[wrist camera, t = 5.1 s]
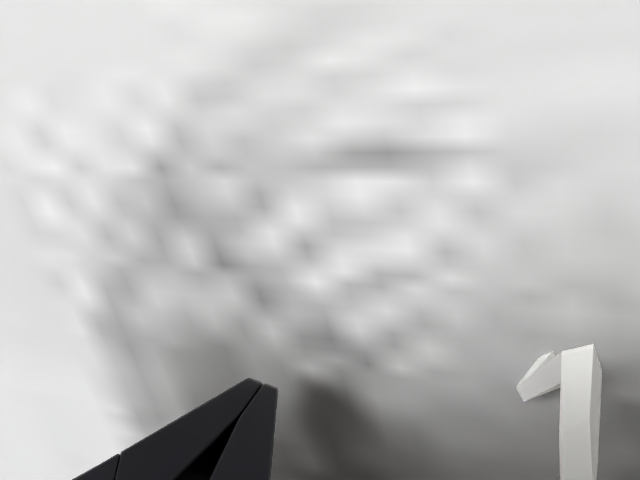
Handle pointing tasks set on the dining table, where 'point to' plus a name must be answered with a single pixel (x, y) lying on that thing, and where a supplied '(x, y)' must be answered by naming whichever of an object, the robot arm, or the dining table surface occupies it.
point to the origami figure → (571, 405)
